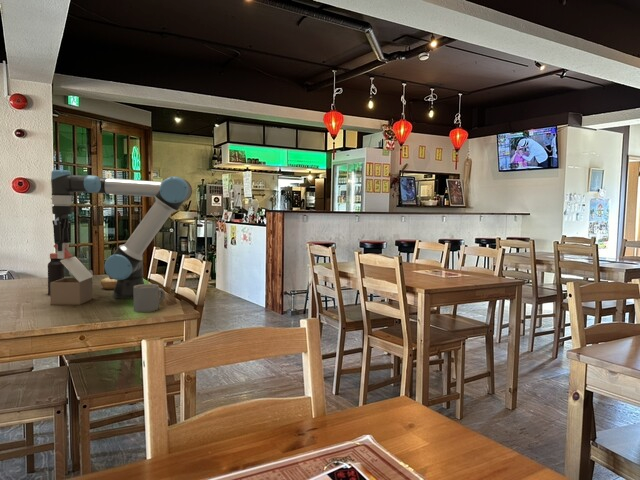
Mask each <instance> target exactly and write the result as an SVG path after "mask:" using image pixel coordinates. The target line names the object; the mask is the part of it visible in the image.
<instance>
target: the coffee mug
mask: <svg viewBox="0 0 640 480" xmlns="http://www.w3.org/2000/svg"><path fill="white" fill-rule="evenodd" d="M159 286H160V285H158V284H157V283H156V284H154V283H145V284H141V285H136V286H134V287H133V295H134V298H133V311H134V312H135V313H137V312H138V313H150V312H155V310H156V311H157V310H159V309H160V303H161V302H162V301H163V300H164V299H165V297H166V296H165V294H166V293H165V292H166V291H165V290H164V288H161V287H159ZM159 292H160V294H159ZM159 295H160V296H159Z"/></svg>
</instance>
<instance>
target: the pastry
mask: <svg viewBox="0 0 640 480" xmlns="http://www.w3.org/2000/svg"><path fill="white" fill-rule="evenodd" d="M116 283H117V280H115V279H112V278H110V277H109V276H108V277H105V278H102V279H101V280H100V285H101V287H102V289H103V290H109V291H110V290H111V291H112V290H113V291H114V289H115V286H116Z"/></svg>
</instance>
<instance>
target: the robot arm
mask: <svg viewBox="0 0 640 480" xmlns="http://www.w3.org/2000/svg"><path fill="white" fill-rule="evenodd" d="M50 176H51V179H50V184H51V198H50V200H51V204H52V206H51V212H52V215H55V219H53V220H52V221H51V222H52V226H53V227H52V228H53V242H54V245H55V244H57V250H56V251H57V252H56V253H57V257H58V259H61V260H63V259H65V249H64V247H65V248H66V249H67V250H68V251H69V252H70V250H69V249H70V247H69V245H70V244H71V243H72V219H70V218H69V215H72V213H73V210H72V207H73V206H71V205H72V193H87V194H88V193H89V194H91V193H92V194H97V195H98V194H105V195H118V196H120V195H121V196H133V197H134V196H136V197H137V196H138V197H149V198H155V199H154V200H155V202H154V203H153V204H152V206H151V207H150V208H149V210H148V211H147V212H146V214H145V215H144V217H143V218H142V219H141V221H140V222H139V223H138V225H137V226H136V228H135V229H134V231H133V232H132V233H131V235H130V236H129V238H128V239H127V240H126V241H125V243H124V244H120V245H119V246H118V247H117V248H116V250H115V251H114V252H113V254H111V255H110V256H108V258H106V260H105V262H104V271H105V273H106V275H107V276H108V277H110V278H112V279H115V280H117V283H116V286H115V289H114V290H113V293H112V294H113V298H115V299H123V300H124V299H134V295H133V287H134V286H136V285H141V284H146V283H145V280H144V264H143V263H144V258H143V257H144V254H143V253H144V252H145V251H146V249H147V248H148V247H149V245H150V244H151V242H153V240H154V238H155V237H156V236H157V234H158V232H160V230H161V229H162V227H163V225H164V224H166V221H167V220H168V218H169V217H170V216H171V214H172V213H175V212H178V211H179V209H180V208H181V206H182V205H183V204H184V203H185V202H187V201H189V200H190V198H191V197H192V194H193V187H192V185H191V184H190V182H189V181H188V180H187V179H184V178H182V177H179V176H170V177H167V178H166V179H163V180H162V181H157V180H155V181H154V180H143V179H142V180H141V179H127V178H114V177H113V178H112V177H111V178H109V177H99V176H97V175H91V174H89V175H85V174H83V175H82V174H81V175H80V174H79V175H76V174H71V171H70V170H67V169H65V170H64V169H63V170H62V169H54V170H52V171H51V174H50Z"/></svg>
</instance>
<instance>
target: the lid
mask: <svg viewBox="0 0 640 480" xmlns="http://www.w3.org/2000/svg"><path fill="white" fill-rule="evenodd" d="M53 248H54V249H55V250H56V251H57V244H55V243H54V245H53ZM64 249H65V258H64V259H61V260H60V262H61V263H62V264H63V265H64V268H66V270H67V271H68V272H69V271H70V273H71V274H72V275H73V276H74V277H75V278H76V279H77V280H78V281H79V282H82V281H84V280H87V279H89V278H92V279H93V278H94V274H91V273H90V272H89V271H88V270H89V269H87V268H86V266H85V265H84V264H83V263H82V262H81V261H80V260H79V259H78V257H77V256H73V254H72V253H71V252H70V250H69V251H68V250H67V249H66V248H65V247H64Z"/></svg>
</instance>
